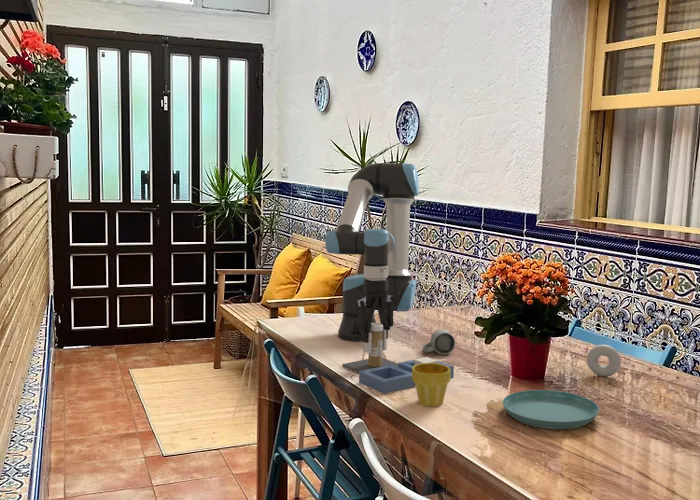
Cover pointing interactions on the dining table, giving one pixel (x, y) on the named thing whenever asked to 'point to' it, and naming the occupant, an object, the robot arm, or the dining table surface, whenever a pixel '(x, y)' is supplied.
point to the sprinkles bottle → (376, 345)
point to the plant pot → (431, 382)
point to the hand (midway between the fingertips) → (375, 350)
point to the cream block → (424, 360)
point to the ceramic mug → (440, 343)
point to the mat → (366, 365)
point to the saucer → (550, 409)
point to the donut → (608, 352)
